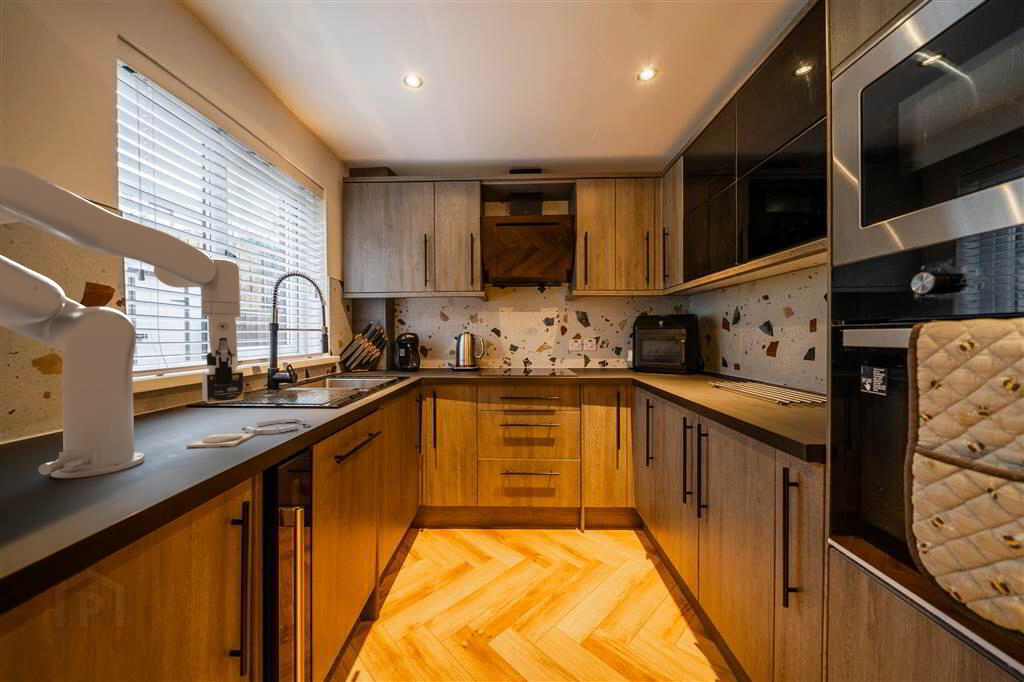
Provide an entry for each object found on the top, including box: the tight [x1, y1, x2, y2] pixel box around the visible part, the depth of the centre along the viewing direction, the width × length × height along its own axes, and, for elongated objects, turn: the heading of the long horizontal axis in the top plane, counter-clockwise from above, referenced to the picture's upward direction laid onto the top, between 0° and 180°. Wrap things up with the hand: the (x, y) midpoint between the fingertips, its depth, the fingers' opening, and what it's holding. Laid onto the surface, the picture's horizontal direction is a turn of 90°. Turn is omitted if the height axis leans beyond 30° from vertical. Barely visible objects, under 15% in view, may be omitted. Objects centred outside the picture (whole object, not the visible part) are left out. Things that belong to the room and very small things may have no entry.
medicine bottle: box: [201, 351, 244, 404], centre depth 95 cm, size 7×7×12 cm
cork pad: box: [186, 432, 256, 449], centre depth 96 cm, size 10×10×1 cm
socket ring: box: [241, 417, 311, 436], centre depth 109 cm, size 14×17×1 cm
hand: (222, 382), depth 95 cm, fingers closed on medicine bottle, 7 cm apart
